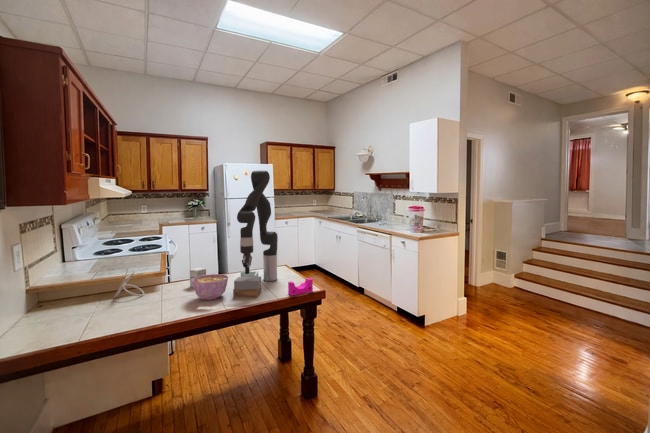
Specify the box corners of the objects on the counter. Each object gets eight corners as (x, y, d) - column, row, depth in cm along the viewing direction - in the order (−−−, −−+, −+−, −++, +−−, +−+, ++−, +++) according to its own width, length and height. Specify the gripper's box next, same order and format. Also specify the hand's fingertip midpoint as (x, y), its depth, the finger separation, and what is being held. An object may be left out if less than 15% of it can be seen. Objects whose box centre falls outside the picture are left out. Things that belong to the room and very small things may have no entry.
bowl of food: (205, 291, 190) (205, 273, 189) (235, 293, 186) (234, 274, 185) (184, 302, 170) (183, 281, 170) (217, 304, 166) (216, 283, 166)
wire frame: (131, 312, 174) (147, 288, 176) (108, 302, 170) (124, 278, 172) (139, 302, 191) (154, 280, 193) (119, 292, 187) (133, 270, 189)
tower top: (238, 285, 187) (238, 277, 187) (261, 284, 188) (261, 276, 188) (234, 289, 177) (234, 281, 177) (258, 289, 178) (258, 280, 178)
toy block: (307, 289, 195) (307, 277, 194) (312, 291, 189) (312, 279, 189) (286, 293, 186) (286, 281, 186) (291, 295, 181) (291, 283, 181)
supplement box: (189, 288, 197) (189, 269, 197) (199, 286, 204) (198, 267, 203) (197, 290, 194) (196, 270, 193) (206, 287, 200) (206, 268, 200)
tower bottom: (239, 292, 188) (238, 284, 188) (261, 293, 187) (261, 285, 187) (233, 298, 178) (233, 289, 178) (257, 298, 177) (256, 289, 177)
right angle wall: (241, 282, 212) (240, 271, 211) (258, 282, 213) (258, 271, 212) (237, 287, 200) (237, 275, 200) (255, 286, 201) (255, 275, 200)
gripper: (244, 243, 188) (244, 271, 189) (236, 246, 175) (237, 276, 176) (256, 243, 188) (256, 271, 189) (249, 246, 175) (250, 276, 175)
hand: (247, 273), depth 182 cm, fingers closed
